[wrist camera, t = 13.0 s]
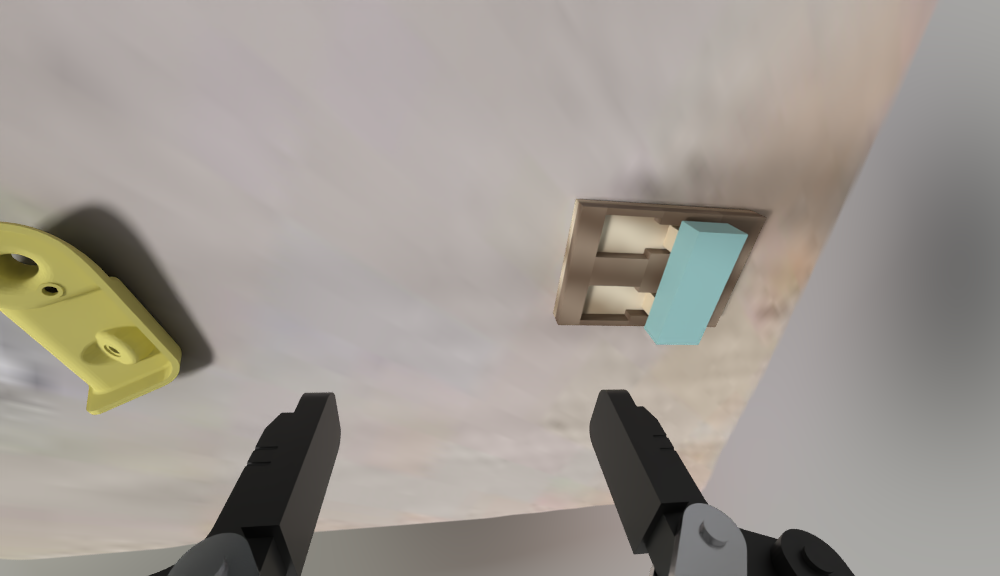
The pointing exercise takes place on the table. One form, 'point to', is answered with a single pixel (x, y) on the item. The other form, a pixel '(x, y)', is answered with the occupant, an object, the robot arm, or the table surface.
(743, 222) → the slot board
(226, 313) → the table surface
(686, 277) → the panel
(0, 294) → the plastic component
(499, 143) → the table surface
